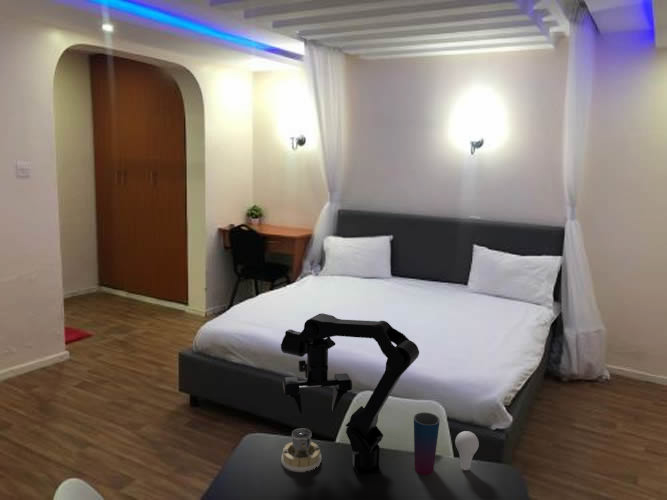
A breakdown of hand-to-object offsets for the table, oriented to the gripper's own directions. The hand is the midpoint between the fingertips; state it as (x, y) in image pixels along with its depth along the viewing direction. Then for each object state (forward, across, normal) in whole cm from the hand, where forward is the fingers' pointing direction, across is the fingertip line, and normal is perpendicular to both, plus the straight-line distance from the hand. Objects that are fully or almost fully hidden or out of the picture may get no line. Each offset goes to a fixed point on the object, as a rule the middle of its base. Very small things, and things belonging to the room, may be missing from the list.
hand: (317, 412), depth 156 cm
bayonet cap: (+11, +5, +4) cm, 12 cm away
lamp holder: (+12, +5, +4) cm, 14 cm away
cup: (+12, -27, +14) cm, 33 cm away
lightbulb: (+12, -38, +16) cm, 43 cm away
